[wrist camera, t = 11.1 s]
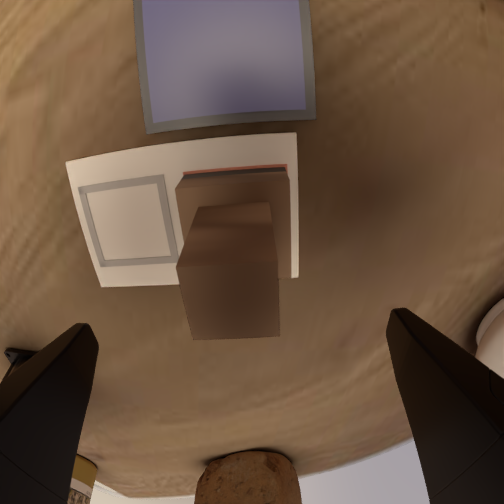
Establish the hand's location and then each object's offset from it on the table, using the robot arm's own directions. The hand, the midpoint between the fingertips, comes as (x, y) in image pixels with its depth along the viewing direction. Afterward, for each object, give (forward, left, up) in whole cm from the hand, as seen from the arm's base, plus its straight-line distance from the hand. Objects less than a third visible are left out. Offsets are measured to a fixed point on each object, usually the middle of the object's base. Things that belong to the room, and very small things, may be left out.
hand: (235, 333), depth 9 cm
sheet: (-3, 0, -9) cm, 9 cm away
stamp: (0, 0, -8) cm, 8 cm away
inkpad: (0, +8, -9) cm, 12 cm away
